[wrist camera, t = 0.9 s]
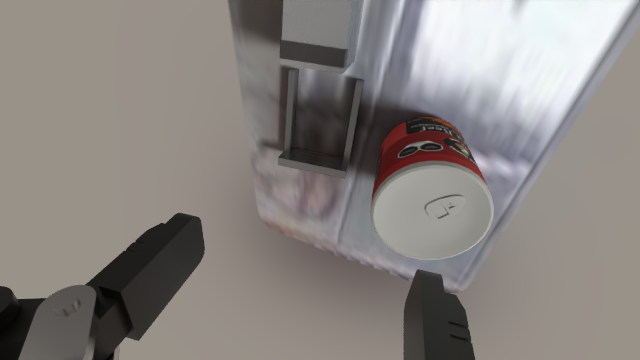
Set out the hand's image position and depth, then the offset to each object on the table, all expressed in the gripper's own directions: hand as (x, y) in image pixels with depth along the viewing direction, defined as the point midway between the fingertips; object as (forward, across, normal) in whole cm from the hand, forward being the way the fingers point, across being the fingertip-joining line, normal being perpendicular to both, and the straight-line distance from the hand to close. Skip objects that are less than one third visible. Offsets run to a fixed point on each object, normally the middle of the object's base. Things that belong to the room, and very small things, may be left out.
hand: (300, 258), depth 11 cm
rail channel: (+21, +4, +2) cm, 21 cm away
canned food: (+21, -6, +4) cm, 22 cm away
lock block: (+21, +4, -6) cm, 22 cm away
